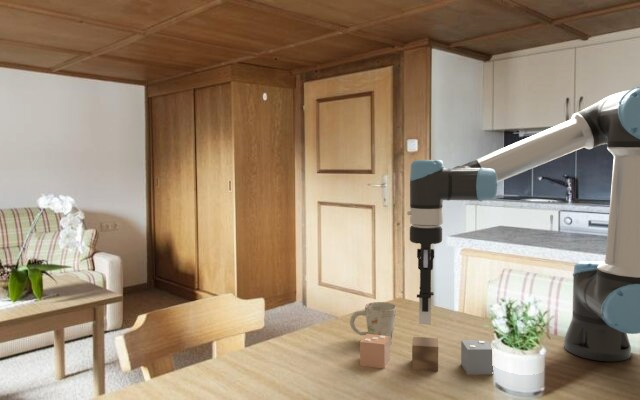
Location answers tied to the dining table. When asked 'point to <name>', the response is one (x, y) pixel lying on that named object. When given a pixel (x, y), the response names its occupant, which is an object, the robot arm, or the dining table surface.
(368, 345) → the terracotta block
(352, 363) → the dining table surface
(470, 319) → the dining table surface
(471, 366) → the slate block
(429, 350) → the walnut block
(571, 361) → the dining table surface
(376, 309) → the mug
